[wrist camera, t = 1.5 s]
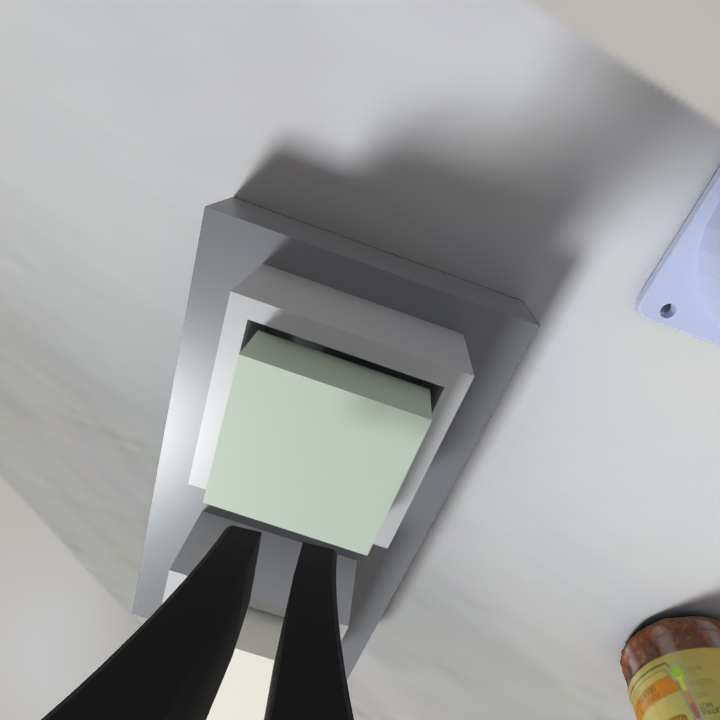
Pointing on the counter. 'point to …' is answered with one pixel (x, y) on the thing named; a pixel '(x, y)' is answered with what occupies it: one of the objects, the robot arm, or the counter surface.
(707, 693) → the sauce bottle
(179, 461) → the key console
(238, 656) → the cream key
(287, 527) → the sage key
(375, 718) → the counter surface
